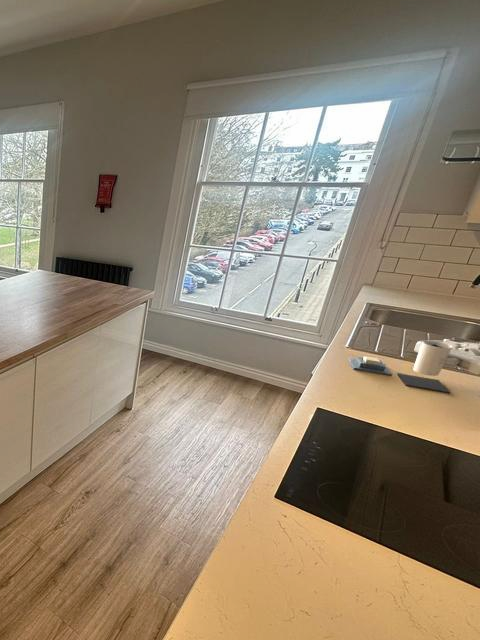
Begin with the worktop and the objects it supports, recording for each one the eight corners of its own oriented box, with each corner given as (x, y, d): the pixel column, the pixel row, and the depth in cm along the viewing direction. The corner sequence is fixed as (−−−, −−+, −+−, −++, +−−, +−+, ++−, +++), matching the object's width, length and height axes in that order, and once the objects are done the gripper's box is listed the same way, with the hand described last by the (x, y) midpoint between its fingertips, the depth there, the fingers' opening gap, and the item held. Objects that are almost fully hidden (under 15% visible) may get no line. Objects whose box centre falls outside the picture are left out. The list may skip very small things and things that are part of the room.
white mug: (405, 368, 135) (416, 340, 132) (424, 367, 135) (435, 339, 132) (426, 376, 129) (438, 348, 126) (447, 375, 129) (459, 347, 126)
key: (376, 361, 145) (377, 358, 144) (378, 365, 142) (380, 361, 141) (362, 359, 147) (364, 356, 146) (365, 363, 144) (366, 359, 143)
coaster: (437, 381, 135) (438, 379, 134) (449, 393, 127) (450, 392, 127) (396, 374, 140) (397, 373, 140) (405, 386, 132) (406, 384, 132)
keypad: (383, 365, 146) (386, 359, 145) (391, 376, 139) (393, 370, 138) (347, 360, 152) (349, 354, 151) (353, 369, 144) (355, 363, 143)
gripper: (509, 380, 121) (464, 381, 121) (436, 353, 140) (396, 354, 140) (519, 361, 119) (473, 362, 119) (443, 337, 138) (403, 337, 138)
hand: (431, 358), depth 130 cm, fingers closed on white mug, 2 cm apart
